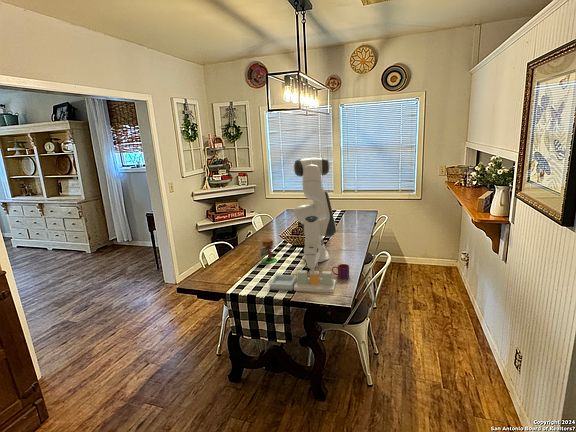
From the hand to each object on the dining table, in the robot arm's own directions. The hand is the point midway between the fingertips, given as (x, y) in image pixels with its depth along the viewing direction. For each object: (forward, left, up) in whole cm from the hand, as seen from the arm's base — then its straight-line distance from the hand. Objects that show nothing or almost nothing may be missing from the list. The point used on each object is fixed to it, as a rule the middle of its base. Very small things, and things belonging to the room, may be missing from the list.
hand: (314, 269), depth 179 cm
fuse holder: (-1, 0, -10) cm, 10 cm away
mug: (-16, +13, -11) cm, 23 cm away
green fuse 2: (-1, +7, -8) cm, 11 cm away
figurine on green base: (-38, -39, -11) cm, 55 cm away
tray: (-1, -19, -10) cm, 21 cm away
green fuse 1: (-1, -7, -8) cm, 11 cm away
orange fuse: (-1, 0, -8) cm, 8 cm away
